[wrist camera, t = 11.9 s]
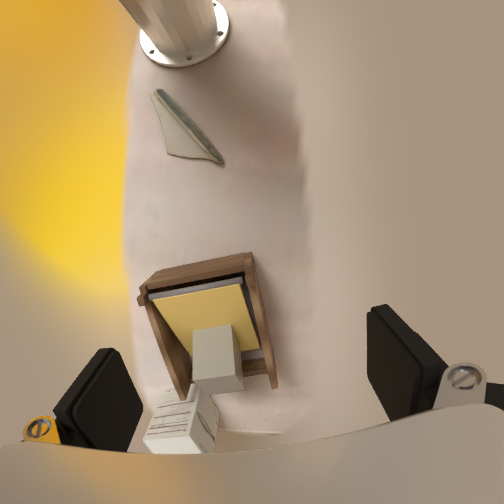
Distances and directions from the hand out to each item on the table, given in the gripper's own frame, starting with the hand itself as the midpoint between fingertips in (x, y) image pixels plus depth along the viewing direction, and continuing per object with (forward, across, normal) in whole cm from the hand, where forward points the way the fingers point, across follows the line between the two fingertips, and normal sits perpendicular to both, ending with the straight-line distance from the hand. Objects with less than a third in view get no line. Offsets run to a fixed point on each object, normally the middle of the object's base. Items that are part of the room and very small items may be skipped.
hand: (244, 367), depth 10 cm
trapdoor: (+26, +7, +10) cm, 29 cm away
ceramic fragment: (+31, +6, -14) cm, 35 cm away
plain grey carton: (+26, +6, +13) cm, 30 cm away
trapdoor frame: (+30, +6, +12) cm, 32 cm away
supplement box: (+29, +14, +26) cm, 41 cm away
